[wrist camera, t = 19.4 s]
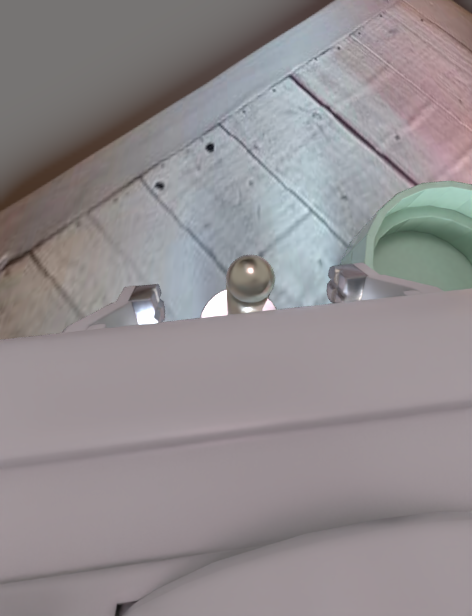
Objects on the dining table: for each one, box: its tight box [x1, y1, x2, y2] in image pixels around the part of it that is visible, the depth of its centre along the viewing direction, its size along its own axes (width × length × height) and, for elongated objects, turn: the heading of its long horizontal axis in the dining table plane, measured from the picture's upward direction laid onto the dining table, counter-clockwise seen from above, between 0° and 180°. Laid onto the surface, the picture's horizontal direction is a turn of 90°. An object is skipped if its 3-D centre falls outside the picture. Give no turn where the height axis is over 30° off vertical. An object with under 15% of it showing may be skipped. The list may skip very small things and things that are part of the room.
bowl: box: [341, 181, 472, 291], centre depth 21 cm, size 14×14×5 cm
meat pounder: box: [200, 255, 277, 318], centre depth 16 cm, size 6×6×14 cm
